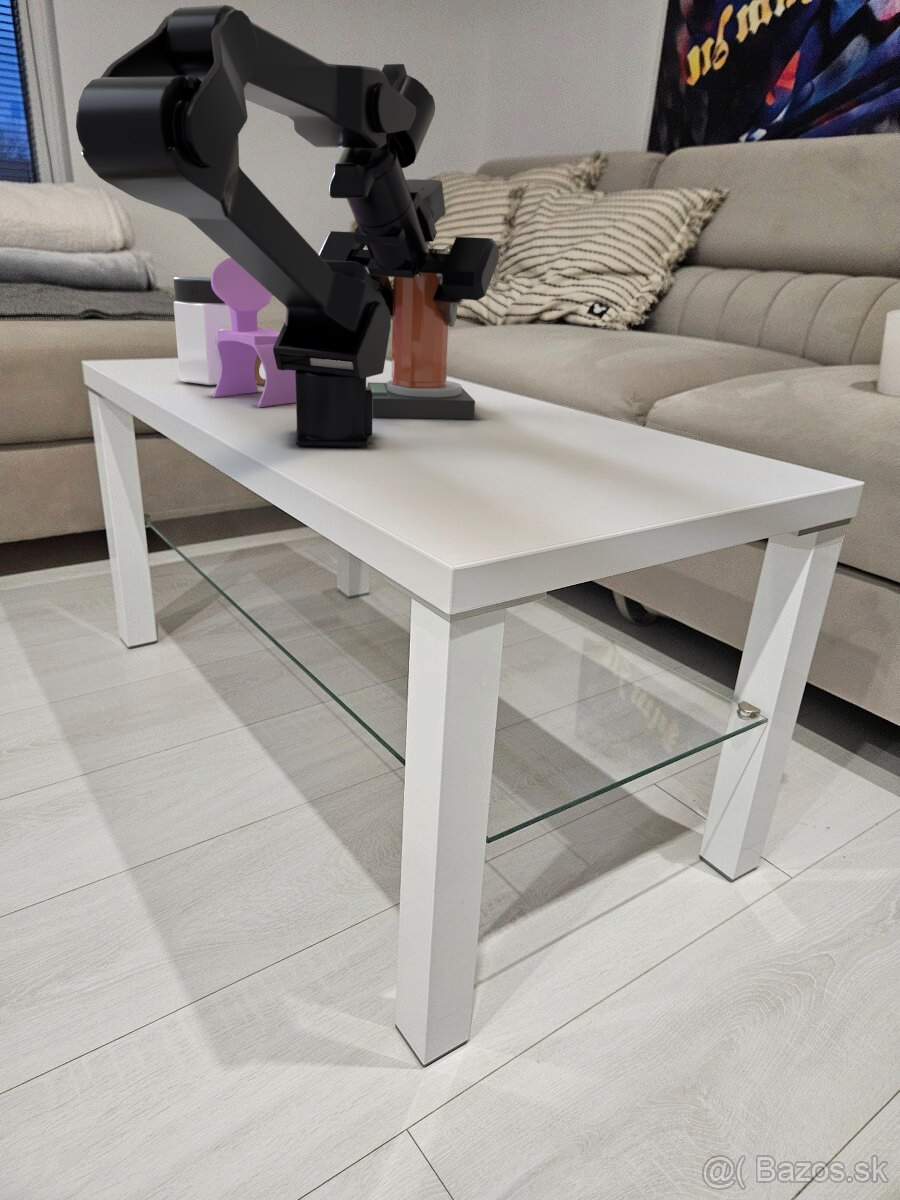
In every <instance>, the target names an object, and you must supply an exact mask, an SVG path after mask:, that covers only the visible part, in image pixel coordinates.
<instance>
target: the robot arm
mask: <svg viewBox="0 0 900 1200" xmlns="http://www.w3.org/2000/svg"><path fill="white" fill-rule="evenodd" d="M246 101H248V102H250V103H252V104H255V105H258V106H260V107H263V108H265V109H268V110H270V111H273V112H275V113H278V114H281V115H283V116H285V117H288V118H289V119H290V120H291V121H293V125H294V126H293V128H294V131H295V132H296V134H297V135H298V136H300V137H302V138H303V139H304V140H306V141H307V142H308V143H309V144H311V145H312V146H313V147H315V148H334V149H335V148H338V149H339V148H340V149H342V148H343V150H342V152H341V154H340V156H339V158H338V161H337V163H335V164H334V172H333V175H332V178H331V180H330V183H329V193H328V194H329V197H330V198H331V199H346V201H347V203H348V205H349V208H350V211H351V212H352V215H353V217H354V221H355V222H356V225H357V226H356V227H355V230H354V231H339V230H338V231H337V230H330V231H329V233H328V235H327V237H326V238H325V241H324V243H323V245H322V247H321V249H320V251H319V253H318V252H317V251H316V250H315V249H314V248H313V247H312V246H311V244H310V243H309V242H308V241H307V240H306V239H305V238H304V237H303V235H301V233H300V232H299V231H298V230H297V229H296V228H295V227H294V226H293V225H292V224H291V223H290V221H289V219H287V218H286V217H285V216H284V215H283V214H282V212H280V210H279V209H278V208H277V207H276V206H275V204H273V203H272V201H271V200H270V199H269V198H268V197H267V196H266V195H265V194H264V193H263V191H262V190H260V188H259V187H258V186H257V185H256V184H255V183H254V181H253V180H251V179H250V177H249V176H248V175H247V174H246V173H245V172H244V171H243V169H241V166H240V149H239V147H240V144H239V134H240V132H242V130H243V128H244V126H245V124H246V122H247V120H248V110H247V109H248V108H247V103H246ZM435 112H436V103H435V98H434V96H433V95H432V93H430V92H429V90H428V89H427V87H426V86H425V84H423V83H422V82H420V80H418V79H416V78H414V77H413V76H410V75H409V74H408V72H407V69H406V66H405V64H404V63H388V64H383V67H382V69H380V68H378V67H372V66H365V65H354V64H352V65H350V64H335V63H328V62H326V61H324V60H322V59H321V58H318V57H316V56H315V55H313V54H311V53H310V52H307V51H306V50H304V49H302V48H300V47H299V46H297V45H295V44H293V43H291V42H289V41H288V40H286V39H284V38H282V37H281V36H278V35H277V34H274V33H272V32H271V31H270V30H268V29H265V28H264V27H262V26H260V25H259V24H256V23H255V22H254V21H251V20H250V17H249V16H248V15H247V14H246V13H245V12H244V11H243V10H239V9H236V8H235V7H234V6H231V5H228V4H222V5H205V6H188V7H187V6H186V7H178V8H177V9H175V10H173V12H172V13H171V12H170V13H169V14H167V15H166V16H164V18H163V20H162V21H161V23H160V24H159V25H158V26H157V28H156V30H155V31H154V32H153V34H151V35H149V36H148V37H147V38H146V39H145V40H142V41H141V42H140V43H138V44H137V45H136V46H134V47H133V48H132V49H130V50H129V51H127V52H126V53H125V54H123V55H122V56H120V57H119V58H117V59H116V60H114V61H113V62H112V63H111V64H110V65H108V66H107V68H106V69H105V70H104V72H103V74H101V76H100V77H99V78H94V79H92V80H91V81H89V82H88V83H87V84H86V86H85V87H83V90H82V93H81V95H80V98H79V100H78V107H77V112H76V116H75V117H76V118H75V129H76V134H77V138H78V141H79V143H80V146H81V155H82V157H83V158H84V161H85V162H86V163H87V166H88V167H89V168H90V169H91V170H92V171H93V172H94V173H95V175H96V176H97V177H99V178H100V179H101V180H102V181H104V182H106V183H107V184H109V185H111V186H112V187H115V188H117V190H120V191H122V192H123V193H125V194H127V195H129V196H131V197H133V198H134V199H136V200H138V201H141V202H143V203H146V204H150V205H152V206H154V207H155V206H156V207H158V208H160V209H161V208H162V209H164V210H166V211H170V212H172V213H175V214H179V215H180V216H183V217H185V218H186V219H187V220H189V221H190V222H191V223H192V224H193V225H195V226H196V228H198V229H199V231H201V232H202V233H203V234H204V235H205V236H206V237H208V238H209V240H211V241H212V242H213V243H214V244H215V245H217V246H218V247H219V248H220V250H222V251H223V252H224V253H226V254H227V255H228V257H229V258H232V259H233V260H235V261H236V262H237V263H238V264H239V265H240V266H241V267H242V268H243V269H245V270H246V271H247V272H248V273H249V274H250V275H251V276H252V277H254V278H255V279H256V280H257V281H258V282H259V283H260V284H261V285H262V286H264V287H265V288H266V289H267V290H268V291H269V292H270V293H271V294H272V296H273V297H275V298H276V299H277V300H278V301H279V302H280V303H281V304H282V305H283V306H284V307H285V308H286V309H285V321H284V323H283V325H282V327H281V329H280V331H279V332H280V334H279V336H278V338H277V340H276V342H275V344H274V347H273V353H274V357H275V361H276V365H277V369H278V370H293V371H296V372H295V382H296V402H295V417H296V429H295V437H294V445H296V446H301V447H302V446H307V447H308V446H309V447H310V446H311V447H312V446H313V447H368V446H369V439H368V438H370V437H372V436H373V416H372V412H373V393H372V390H371V388H370V387H368V386H367V379H368V378H370V377H375V376H378V375H381V374H383V373H384V370H385V364H386V357H387V352H388V345H389V340H390V333H391V326H392V324H391V323H392V321H393V284H392V283H391V280H390V278H393V277H402V278H414V277H419V276H420V275H421V273H437V277H438V279H441V280H440V281H439V285H438V287H437V290H436V292H435V295H434V297H433V301H434V303H435V304H436V306H437V308H438V310H439V311H440V313H441V315H442V317H443V319H444V320H445V322H446V323H447V324H448V325H449V328H454V326H455V324H456V321H457V314H458V313H457V312H458V306H459V305H458V304H459V303H460V302H461V301H462V300H468V301H469V300H470V301H479V300H481V299H483V298H484V297H486V295H487V292H488V289H489V287H490V284H491V281H492V278H493V275H494V273H495V270H496V268H497V265H498V264H499V263H498V262H499V260H500V254H499V250H498V245H497V243H496V242H495V240H494V239H493V238H491V237H472V236H471V237H470V236H455V239H454V241H453V243H452V244H450V245H447V246H446V247H445V248H443V249H442V248H429V243H431V242H434V241H435V239H436V237H437V235H438V231H437V228H436V224H437V222H438V221H439V220H440V219H441V218H443V217H445V216H446V214H447V211H446V203H445V195H444V187H443V182H442V180H440V179H415V178H414V179H413V178H411V179H406V177H405V173H404V170H403V169H405V168H408V167H410V166H411V165H413V164H414V163H415V161H416V159H417V157H418V155H419V152H420V150H421V147H422V145H423V142H424V141H425V138H426V136H427V133H428V131H429V128H430V126H431V124H432V121H433V119H434V117H435V114H436V113H435ZM365 247H366V249H364V248H365ZM314 358H315V359H314ZM324 359H325V360H324Z"/></svg>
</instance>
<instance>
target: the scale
mask: <svg viewBox="0 0 900 1200" xmlns="http://www.w3.org/2000/svg"><path fill="white" fill-rule="evenodd" d="M367 387H370V388H371V390H372V393H373V412H372V418H381V419H382V418H385V419H386V418H387V419H389V418H390V419H391V418H392V419H435V420H436V419H439V420H443V419H444V420H475V412H476V411H475V409H476V400H475V399H474V397H472V396H471V395H470V394H469V393H468V392H467V391H466V389H464V388H463V385H462V384H460V383H458V382H455V381H450V380H446V385H445V386H443V387H437V388H413V387H404V386H398V385H395V384H393V383H392V379H391V380H389V381H387V382H367Z"/></svg>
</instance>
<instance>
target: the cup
mask: <svg viewBox="0 0 900 1200" xmlns="http://www.w3.org/2000/svg"><path fill="white" fill-rule="evenodd" d="M440 280H441V279H438V277H437V273H421V275H420V276H419V277H414V278H402V277H392V288H393V320H392V322H391V323H392V324H391V326H392V328H391V329H392V330H391V331H392V332H391V380H392V383H393V384H395V385H398V386H404V387H413V388H437V387H443V386H445V385H446V381H447V379H448V359H449V357H448V355H449V335H450V327H449V325H448V324H447V323H446V322H445V320H444V319H443V317H442V315H441V313H440V311H439V310H438V308H437V306H436V304H435V303H434V301H433V297H434V295H435V292H436V290H437V287H438V285H439V281H440Z"/></svg>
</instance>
